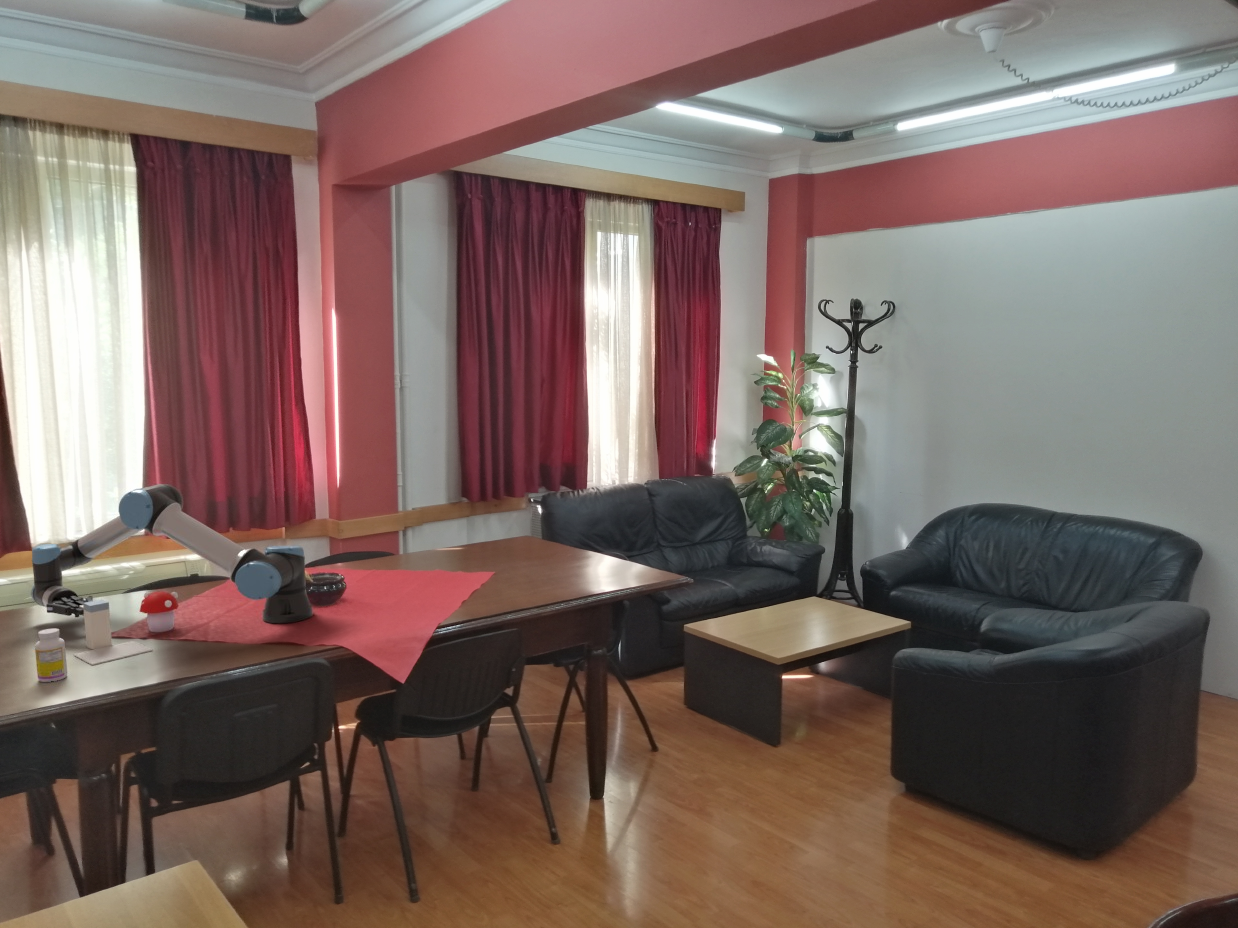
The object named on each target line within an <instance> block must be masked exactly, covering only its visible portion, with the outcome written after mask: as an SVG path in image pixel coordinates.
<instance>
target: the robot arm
mask: <svg viewBox="0 0 1238 928" xmlns="http://www.w3.org/2000/svg"><path fill="white" fill-rule="evenodd" d="M183 506H184V498H183V495H182V493H181V492H180V491H179V489H178V488H176V487H175V486H174V485H171V484H167V483H159V484H155V485H150V486H146V487H142V488H136V489H133V490H130V491H128V492H126V493H125V494H124V495H123V496H122V497H121V499H120V502H119V503H118V513H119V515H118V516H117V517H114V518H113V519H111V520H109V521H108V522H106V523H104V524H102V525H101V526H99V527H98V528H96V529H94V530H92V531H90V532H89V533H87V534H85V535H83V536H82V537H80V538H78V539H76V540H75V541H73V542H70V543H69V544H67V545H64V546H59V544H56V543H45V544H41V545H36V546H34V547H33V548H32V550H31V562H32V572H33V586H32V588H31V591H30V597H31V598H32V600H33V602H35V603H36V604H37V605H38V606H41V607H45V608H46V613H48V614H58V615H63V616H67V617H70V616H72V614H73V615H74V618H79V617H80V616H82V617H84V608H83V603H86V602H91V601H94V598H93V595H89V596H87V597H85V598H84V597H82V596H79V595H78V593H76V592H75V591H74V590H71V589H69V588H68V587H65V586H63V572H64V571H66V570H71V569H72V568H76V567H79V566H84V565H86V564H88V563H89V562H92V561H94V559H95V557H97V556H98V555H99V556H100V555H101V554H102V553H104V552H107V551H108V550H109V549H112V548H113V547H115V546H116V545H118V544H120V543H122V542H123V541H125V540H127V539H129V538H131V537H133V536H134V535H137V534H138V533H139V532H140V533H141V531H143V530H145V531H146V532H148V533H150V534H152V535H153V536H155V537H159V536H165V537H167V538H169V539H170V540H172V541H174V542H175V543H177V544H179V545H180V546H182V547H184V548H185V549H188V550H189V551H191V552H193V553H194V554H195V555H197V556H198V557H201V558H202V559H203V560H205V561H208V562H209V563H210V564H211V565H214V566H216V567H217V568H219V569H221V570H223V571H224V572H226V573H228V574H229V580H230V581H231V582H232V583H234V584H235V587H236V586H237V587H236V589H237V591H238V592H239V593H240V594H241V595H242V596H243V597H245V598H247V599H249V600H254V601H255V600H256V601H259V600H264V599H265V603H264V609H262V620H263V621H264V622H266V623H270V624H288V623H296V622H300V621H301V622H302V621H305V620H308V619H310V618H311V617H313V615H314V611H313V606H312V605H311V602H310V598H309V596H308V594H307V588H306V584H307V583H306V564H305V563H306V562H305V561H306V560H305V559H306V556H305V553H304V551H305V550H304V548H303V547H301V546H299V545H275V546H267V547H266V548H265V549H264V553H263V552H262V551H259V550H258V549H257V548H254V547H252V548H247V549H246V548H244V547H243V546H241V545H240V544H238V543H236V542H234V541H233V540H231V539H230V538H228V537H226V536H224V535H222V534H221V533H219V532H217V531H216V530H214V529H212V528H210V527H209V526H207V525H206V524H204V523H202V522H200V521H199V520H197V519H196V518H194V517H192V516H190V515H189V514H187V513H185V512H184V511H182V510H183Z"/></svg>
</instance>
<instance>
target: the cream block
mask: <svg viewBox="0 0 1238 928" xmlns="http://www.w3.org/2000/svg"><path fill="white" fill-rule="evenodd" d="M109 604H110V603H109V601H107V600H104V599H102V598H101V599H97V600H93V601H91V602H86V603H83V608H84V616H83V618H84V631H85V644H86V647H87V648H88V649H90V650H92V649H93V650H95V649H99V648H103V647H108V646H112V645H113V643H112V642H113V641H112V640H113V639H112V631H111V615H110V605H109Z"/></svg>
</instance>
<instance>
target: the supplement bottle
mask: <svg viewBox="0 0 1238 928" xmlns="http://www.w3.org/2000/svg"><path fill="white" fill-rule="evenodd" d="M60 634H61V633H60V629H59V628H46V629H41V630H39V631H38V634H37V635H38V638H39V640H38V641H37V642H36V643H35V645H34V652H35V661H36V673H37V680H38V681H39V682H41V683H52V682H51V681H54V682H58V681H61V680H64V679H65V678H66V677H67V676H68V665H67V654H66V652H67V651H66V642H65V640H64V639H63V638H61V637H60ZM57 680H58V681H57Z"/></svg>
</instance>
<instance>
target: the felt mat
mask: <svg viewBox="0 0 1238 928" xmlns="http://www.w3.org/2000/svg"><path fill="white" fill-rule="evenodd" d="M149 652H153V649H152V648H150V647H149V646H145V645H143V644H142V643H139V642H137V641H135V640H130V641H126V642H122V643H117V644H112V646H108V647H103V648H99V649H95V650H92V649H90V650H86V651H83V652H78V653H74V654H73V656H74V657H75V656H76V658H77V657H78V658H77V659H79V660H81V659H82V660H81V661H83V662H85V663H86V662H87V664H88V663H89V665H90V666H96V665H100V664H104V663H108V662H112V661H113V662H114V661H116V660H120V659H123V658H129V657H133V656H138V655H141V654H145V653H149Z"/></svg>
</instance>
